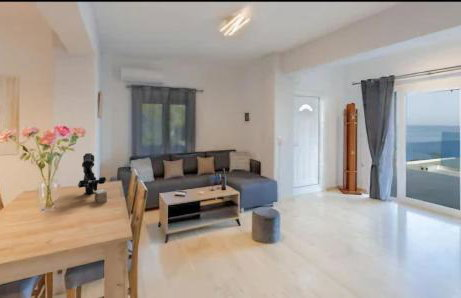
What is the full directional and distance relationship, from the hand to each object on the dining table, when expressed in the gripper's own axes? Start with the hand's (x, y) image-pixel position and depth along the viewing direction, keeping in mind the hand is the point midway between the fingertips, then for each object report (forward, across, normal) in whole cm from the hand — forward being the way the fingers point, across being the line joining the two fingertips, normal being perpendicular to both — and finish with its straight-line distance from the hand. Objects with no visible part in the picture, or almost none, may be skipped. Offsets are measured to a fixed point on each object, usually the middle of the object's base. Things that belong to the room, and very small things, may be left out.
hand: (96, 191), depth 196 cm
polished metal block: (+10, 0, 0) cm, 10 cm away
